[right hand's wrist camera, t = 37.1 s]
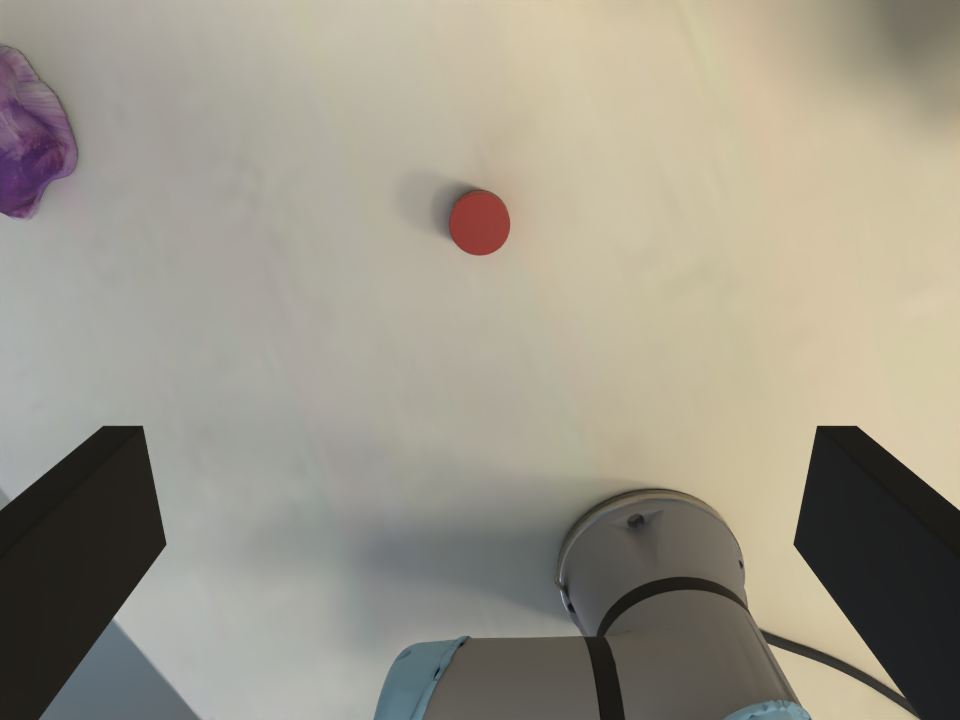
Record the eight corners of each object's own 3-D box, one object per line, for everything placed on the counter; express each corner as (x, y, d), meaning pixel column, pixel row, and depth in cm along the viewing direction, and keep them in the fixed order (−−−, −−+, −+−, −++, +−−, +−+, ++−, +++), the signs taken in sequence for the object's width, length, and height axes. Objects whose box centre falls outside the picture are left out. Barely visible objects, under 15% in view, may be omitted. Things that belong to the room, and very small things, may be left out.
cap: (518, 205, 46) (520, 209, 43) (493, 257, 47) (494, 265, 45) (465, 180, 45) (464, 183, 43) (441, 234, 46) (439, 240, 44)
